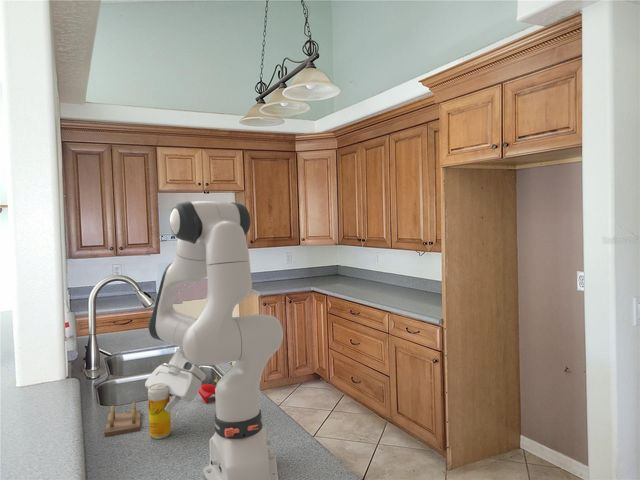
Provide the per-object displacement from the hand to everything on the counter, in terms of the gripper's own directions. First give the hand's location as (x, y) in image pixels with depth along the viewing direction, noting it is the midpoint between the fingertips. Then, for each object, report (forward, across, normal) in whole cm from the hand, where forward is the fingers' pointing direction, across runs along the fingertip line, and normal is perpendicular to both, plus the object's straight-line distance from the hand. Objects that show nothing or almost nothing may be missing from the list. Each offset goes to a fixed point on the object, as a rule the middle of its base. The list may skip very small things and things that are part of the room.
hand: (157, 408), depth 142 cm
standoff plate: (+7, -17, +5) cm, 19 cm away
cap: (-13, -8, +25) cm, 30 cm away
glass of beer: (+6, 0, +6) cm, 9 cm away
